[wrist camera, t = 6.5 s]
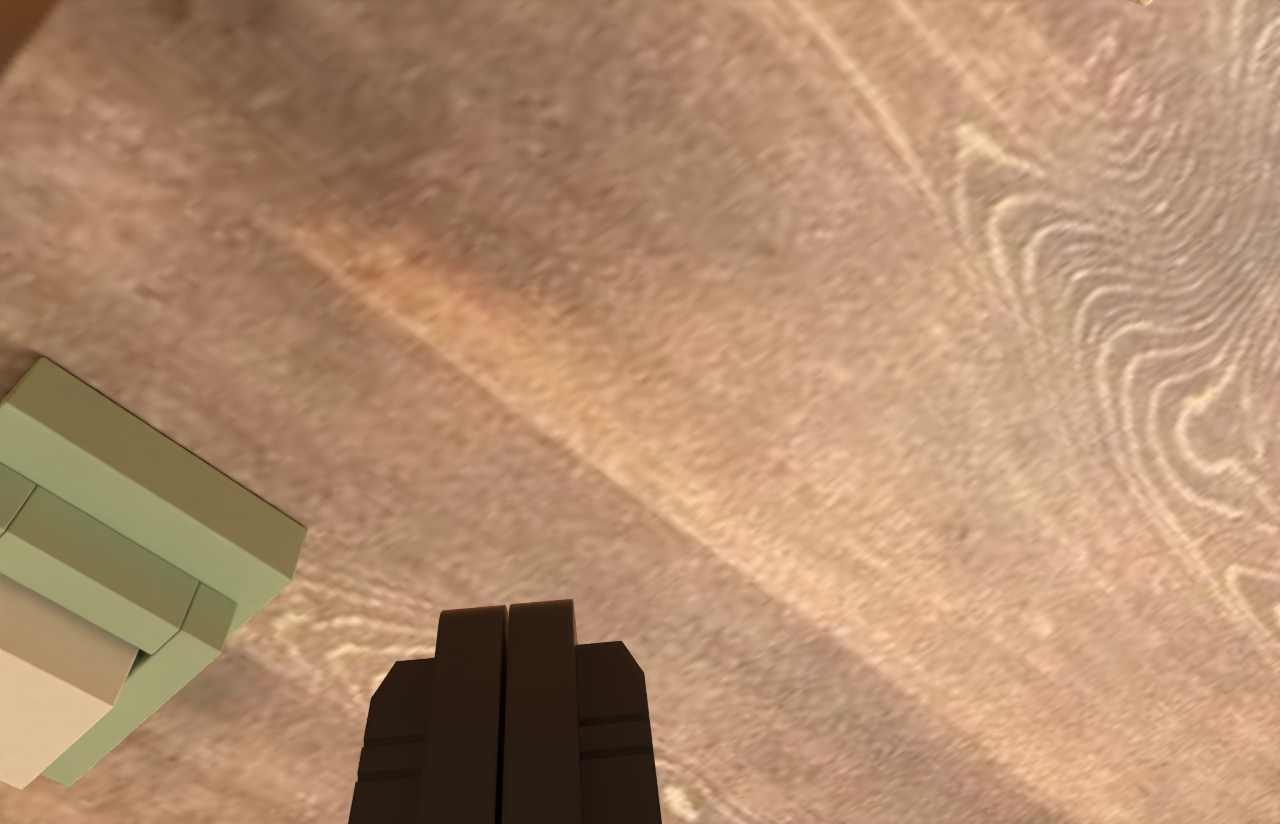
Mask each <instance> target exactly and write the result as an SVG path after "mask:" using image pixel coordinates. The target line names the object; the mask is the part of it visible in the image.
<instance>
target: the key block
mask: <svg viewBox="0 0 1280 824" xmlns="http://www.w3.org/2000/svg"><path fill="white" fill-rule="evenodd" d="M306 534H307V530H306V529H305V528H304V527H302V526H301V525H299V524H298V523H296V522H295V521H293V520H292V519H290V518H289V517H287V516H286V515H284V514H283V513H281V512H279V511H278V510H276V509H275V508H273V507H272V506H270V505H269V504H267V503H266V502H264V501H263V500H261V499H260V498H258V497H257V496H255V495H254V494H252V493H251V492H249V491H247V490H246V489H244V488H243V487H241V486H240V485H238V484H237V483H235V482H234V481H232V480H231V479H229V478H228V477H226V476H225V475H223V474H222V473H220V472H219V471H217V470H216V469H214V468H212V467H211V466H209V465H208V464H206V463H205V462H203V461H202V460H200V459H199V458H197V457H196V456H194V455H193V454H191V453H190V452H188V451H187V450H185V449H184V448H182V447H180V446H179V445H177V444H176V443H174V442H173V441H171V440H170V439H168V438H167V437H165V436H164V435H162V434H161V433H159V432H158V431H156V430H155V429H153V428H152V427H150V426H148V425H147V424H145V423H144V422H142V421H141V420H139V419H138V418H136V417H135V416H133V415H132V414H130V413H129V412H127V411H126V410H124V409H123V408H121V407H120V406H118V405H116V404H115V403H113V402H112V401H110V400H109V399H107V398H106V397H104V396H103V395H101V394H100V393H98V392H97V391H95V390H94V389H92V388H91V387H89V386H88V385H86V384H85V383H83V382H81V381H80V380H78V379H77V378H75V377H74V376H72V375H71V374H69V373H68V372H66V371H65V370H63V369H62V368H60V367H59V366H57V365H56V364H54V363H53V362H51V361H49V360H48V359H46V358H45V357H41V358H39V359H38V360H37V361H36V362H35V364H34V365H33V366H32V367H31V368H30V369H29V370H28V372H27V373H26V374H25V375H24V376H23V377H22V378H21V379H20V381H19V382H18V383H17V384H16V385H15V386H14V387H13V389H12V390H11V391H10V392H9V393H8V394H7V395H6V397H5V398H4V399H3V400H2V401H1V402H0V573H2V574H4V575H6V576H8V577H10V578H11V579H13V580H15V581H17V582H19V583H21V584H22V585H24V586H26V587H28V588H30V589H32V590H33V591H35V592H37V593H39V594H41V595H42V596H44V597H46V598H48V599H50V600H52V601H53V602H55V603H57V604H59V605H61V606H63V607H64V608H66V609H68V610H70V611H72V612H74V613H75V614H77V615H79V616H81V617H83V618H85V619H86V620H88V621H90V622H92V623H94V624H96V625H97V626H99V627H101V628H103V629H105V630H107V631H108V632H110V633H112V634H114V635H116V636H118V637H119V638H121V639H123V640H125V641H127V642H129V643H130V644H132V645H134V646H136V647H138V648H140V649H139V651H138V653H137V655H136V658H135V660H134V662H133V664H132V667H131V669H130V671H129V673H128V675H127V678H126V680H125V682H124V684H123V687H122V689H121V691H120V693H119V695H118V698H117V700H116V702H115V704H114V707H113V708H112V709H111V710H110V711H109V712H107V713H106V714H105V715H104V716H103V717H102V718H101V719H100V720H99V721H97V722H96V723H95V724H94V725H93V726H92V727H91V728H90V729H89V730H88V731H86V732H85V733H84V734H83V735H82V736H81V737H80V738H79V739H78V740H76V741H75V742H74V743H73V744H72V745H71V746H70V747H69V748H68V749H66V750H65V751H64V752H63V753H62V754H61V755H60V756H59V757H58V758H57V759H55V760H54V761H53V762H52V763H51V764H50V765H49V766H48V767H47V768H45V769H44V770H43V771H42V772H41V773H40V774H39V775H41V776H44V777H46V778H48V779H50V780H52V781H54V782H57V783H59V784H61V785H63V786H65V787H70V786H71V785H72V784H73V783H74V782H76V781H77V780H78V779H79V778H80V777H81V776H82V775H84V774H85V773H86V772H87V771H88V770H89V769H90V768H91V767H93V766H94V765H95V764H96V763H97V762H98V761H99V760H101V759H102V758H103V757H104V756H105V755H106V754H107V753H109V752H110V751H111V750H112V749H113V748H114V747H115V746H116V745H118V744H119V743H120V742H121V741H122V740H123V739H124V738H126V737H127V736H128V735H129V734H130V733H131V732H132V731H133V730H135V729H136V728H137V727H138V726H139V725H140V724H141V723H143V722H144V721H145V720H146V719H147V718H148V717H149V716H151V715H152V714H153V713H154V712H155V711H156V710H157V709H158V708H160V707H161V706H162V705H163V704H164V703H165V702H166V701H168V700H169V699H170V698H171V697H172V696H173V695H174V694H175V693H177V692H178V691H179V690H180V689H181V688H182V687H183V686H185V685H186V684H187V683H188V682H189V681H190V680H191V679H193V678H194V677H195V676H196V675H197V674H198V673H199V672H200V671H202V670H203V669H204V668H205V667H206V666H207V665H208V664H210V663H211V662H212V661H213V660H214V659H215V658H216V657H217V656H219V655H220V654H221V652H222V649H223V646H224V644H225V641H226V640H227V639H228V638H229V637H230V636H232V635H233V634H234V633H235V632H236V631H237V630H238V629H239V628H241V627H242V626H243V625H244V624H245V623H246V622H247V621H249V620H250V619H251V618H252V617H253V616H254V615H255V614H256V613H258V612H259V611H260V610H261V609H262V608H263V607H264V606H265V605H267V604H268V603H269V602H270V601H271V600H272V599H273V598H275V597H276V596H277V595H278V594H279V593H280V592H281V591H282V590H284V589H285V588H286V587H287V586H288V585H289V584H290V583H291V582H292V581H293V578H294V574H295V571H296V568H297V564H298V561H299V558H300V554H301V551H302V548H303V544H304V541H305V538H306Z"/></svg>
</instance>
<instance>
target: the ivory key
mask: <svg viewBox="0 0 1280 824" xmlns="http://www.w3.org/2000/svg"><path fill="white" fill-rule="evenodd" d="M139 649H140V648H138V647H136V646H134V645H132V644H130V643H129V642H127V641H125V640H123V639H121V638H119V637H118V636H116V635H114V634H112V633H110V632H108V631H107V630H105V629H103V628H101V627H99V626H97V625H96V624H94V623H92V622H90V621H88V620H86V619H85V618H83V617H81V616H79V615H77V614H75V613H74V612H72V611H70V610H68V609H66V608H64V607H63V606H61V605H59V604H57V603H55V602H53V601H52V600H50V599H48V598H46V597H44V596H42V595H41V594H39V593H37V592H35V591H33V590H32V589H30V588H28V587H26V586H24V585H22V584H21V583H19V582H17V581H15V580H13V579H11V578H10V577H8V576H6V575H4V574H2V573H0V781H2V782H4V783H6V784H9V785H11V786H13V787H15V788H17V789H20V790H22V789H23V788H24V787H25V786H27V785H28V784H29V783H30V782H31V781H32V780H33V779H34V778H35V777H37V776H38V775H39V774H40V773H41V772H42V771H43V770H44V769H45V768H47V767H48V766H49V765H50V764H51V763H52V762H53V761H54V760H55V759H57V758H58V757H59V756H60V755H61V754H62V753H63V752H64V751H65V750H66V749H68V748H69V747H70V746H71V745H72V744H73V743H74V742H75V741H76V740H78V739H79V738H80V737H81V736H82V735H83V734H84V733H85V732H86V731H88V730H89V729H90V728H91V727H92V726H93V725H94V724H95V723H96V722H97V721H99V720H100V719H101V718H102V717H103V716H104V715H105V714H106V713H107V712H109V711H110V710H111V709H112V708H113V707H114V704H115V702H116V700H117V698H118V695H119V693H120V691H121V689H122V687H123V684H124V682H125V680H126V678H127V675H128V673H129V671H130V669H131V667H132V664H133V662H134V660H135V658H136V655H137V653H138V651H139Z"/></svg>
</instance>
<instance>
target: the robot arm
mask: <svg viewBox="0 0 1280 824" xmlns="http://www.w3.org/2000/svg"><path fill="white" fill-rule="evenodd" d="M357 774H358V781H357V782H356V783H355V789H354V794H353V800H352V805H351V811H350V816H349V822H348V824H662V820H661V811H660V803H659V794H658V786H657V777H656V769H655V761H654V753H653V744H652V735H651V727H650V720H649V710H648V701H647V693H646V685H645V676H644V672H643V671H642V669H641V668H640V666H639V665H638V664H637V662H636V661H635V659H634V658H633V656H632V655H631V653H630V652H629V651H628V649H627V648H626V646H625V645H624V643H623V642H622V641H614V642H603V643H592V644H581V645H578V642H577V632H576V622H575V612H574V603H573V599H565V600H554V601H542V602H531V603H519V604H511V605H510V608H509V616H508V611H507V607H506V605H500V606H488V607H477V608H466V609H454V610H443V611H442V612H441V614H440V618H439V625H438V633H437V642H436V650H435V658H428V659H417V660H406V661H396V663H395V664H394V665H393V667H392V668H391V670H390V671H389V673H388V674H387V676H386V677H385V679H384V680H383V682H382V683H381V685H380V686H379V688H378V689H377V690H376V692H375V693H374V695H373V696H372V698H371V701H370V707H369V712H368V718H367V723H366V729H365V734H364V747H363V748H362V751H361V756H360V762H359V767H358V773H357Z"/></svg>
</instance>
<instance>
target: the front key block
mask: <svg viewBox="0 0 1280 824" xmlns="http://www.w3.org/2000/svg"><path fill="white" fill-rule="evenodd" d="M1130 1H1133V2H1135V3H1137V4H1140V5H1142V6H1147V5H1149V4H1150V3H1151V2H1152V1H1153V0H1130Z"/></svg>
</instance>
